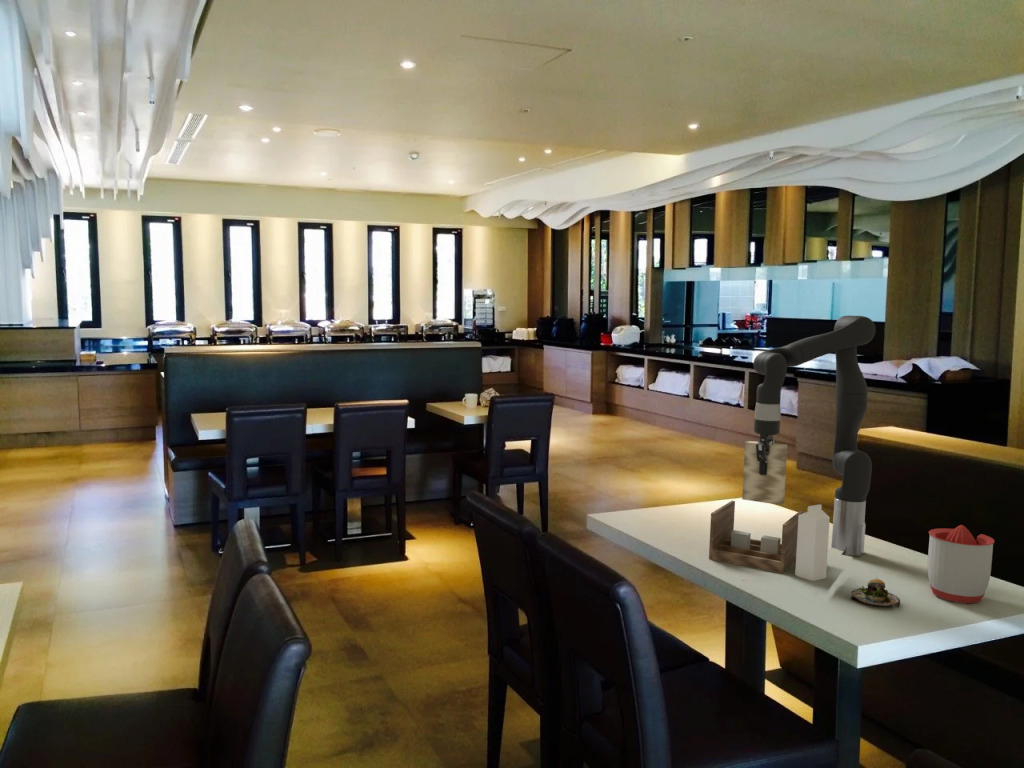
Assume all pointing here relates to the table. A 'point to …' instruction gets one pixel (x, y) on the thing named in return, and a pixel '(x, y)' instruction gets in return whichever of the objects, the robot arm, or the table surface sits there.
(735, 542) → the offcut
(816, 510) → the milk
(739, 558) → the rack
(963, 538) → the citrus juicer
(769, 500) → the beige patterned book
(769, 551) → the offcut
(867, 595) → the burger
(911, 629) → the table surface
